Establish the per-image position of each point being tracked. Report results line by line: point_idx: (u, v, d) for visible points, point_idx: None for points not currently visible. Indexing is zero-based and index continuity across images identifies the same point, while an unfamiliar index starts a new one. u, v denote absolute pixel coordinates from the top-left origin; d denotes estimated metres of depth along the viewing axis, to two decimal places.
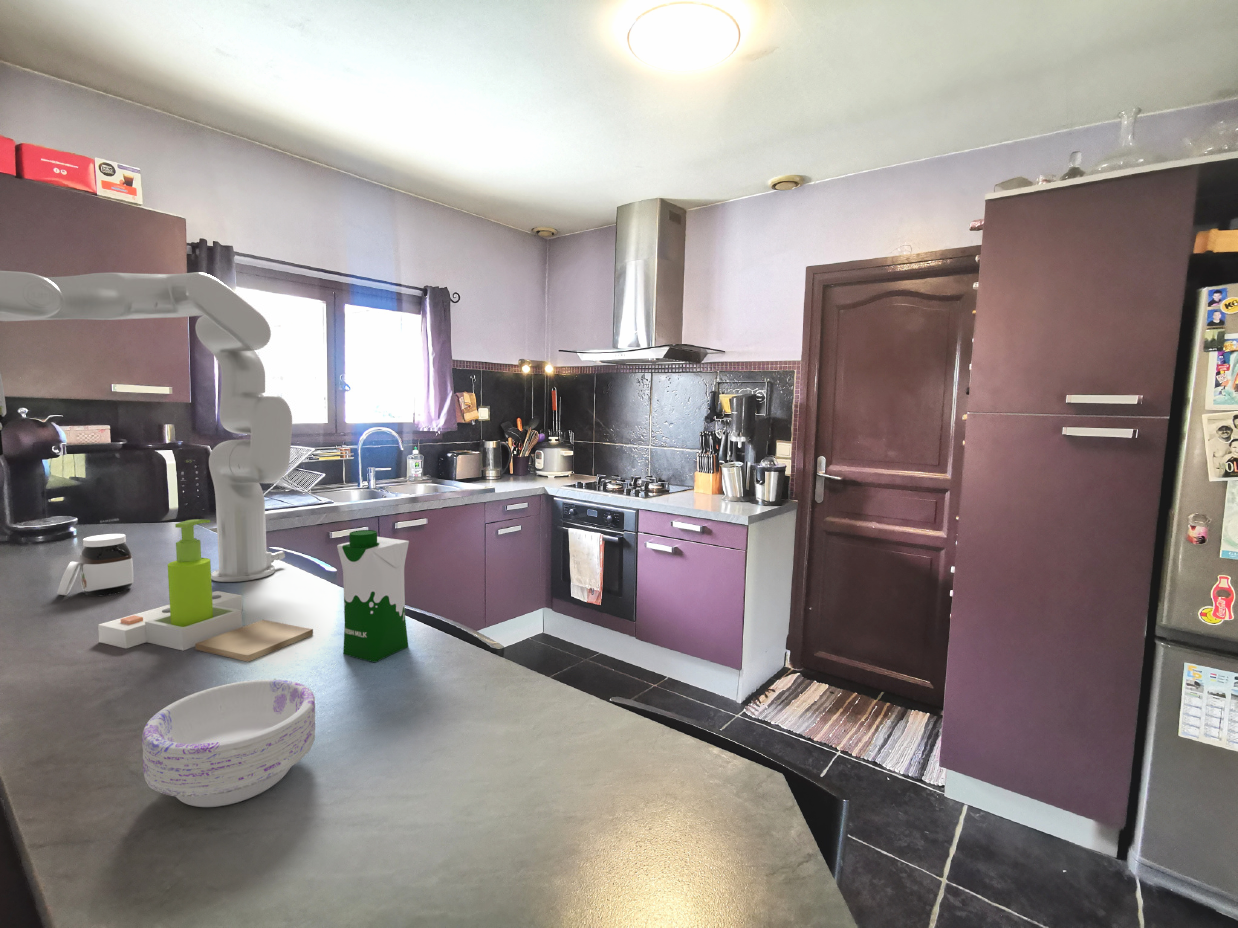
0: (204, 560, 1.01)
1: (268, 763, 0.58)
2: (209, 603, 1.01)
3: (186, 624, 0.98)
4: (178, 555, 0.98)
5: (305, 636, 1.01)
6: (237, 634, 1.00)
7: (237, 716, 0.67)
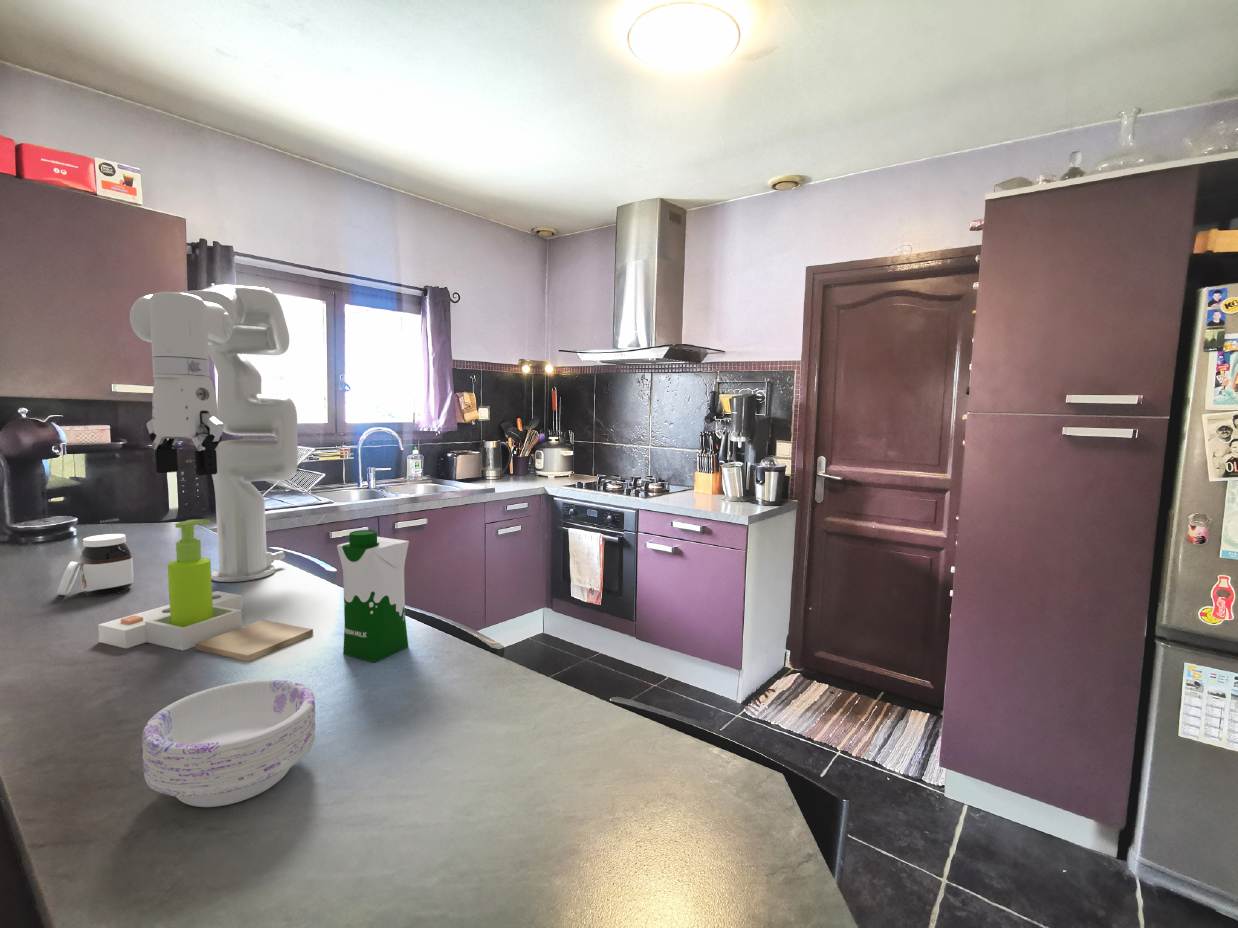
0: (204, 560, 1.01)
1: (268, 763, 0.58)
2: (209, 603, 1.01)
3: (186, 624, 0.98)
4: (178, 555, 0.98)
5: (305, 636, 1.01)
6: (237, 634, 1.00)
7: (237, 716, 0.67)
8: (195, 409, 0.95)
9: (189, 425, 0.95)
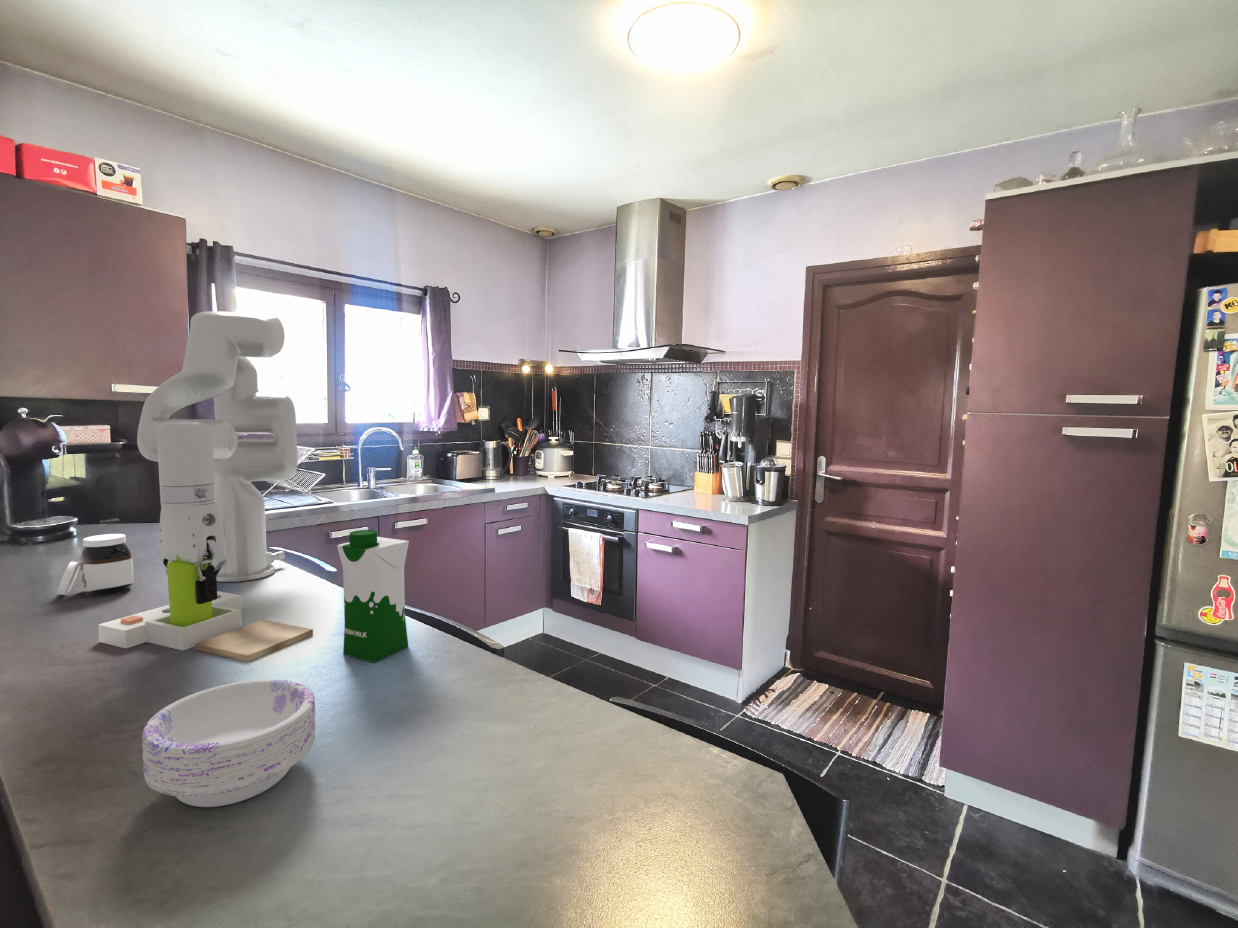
0: (203, 560, 1.01)
1: (268, 763, 0.58)
2: (208, 603, 1.01)
3: (186, 624, 0.98)
4: (177, 555, 0.98)
5: (305, 636, 1.01)
6: (237, 634, 1.00)
7: (237, 716, 0.67)
8: (202, 536, 0.97)
9: (196, 552, 0.97)
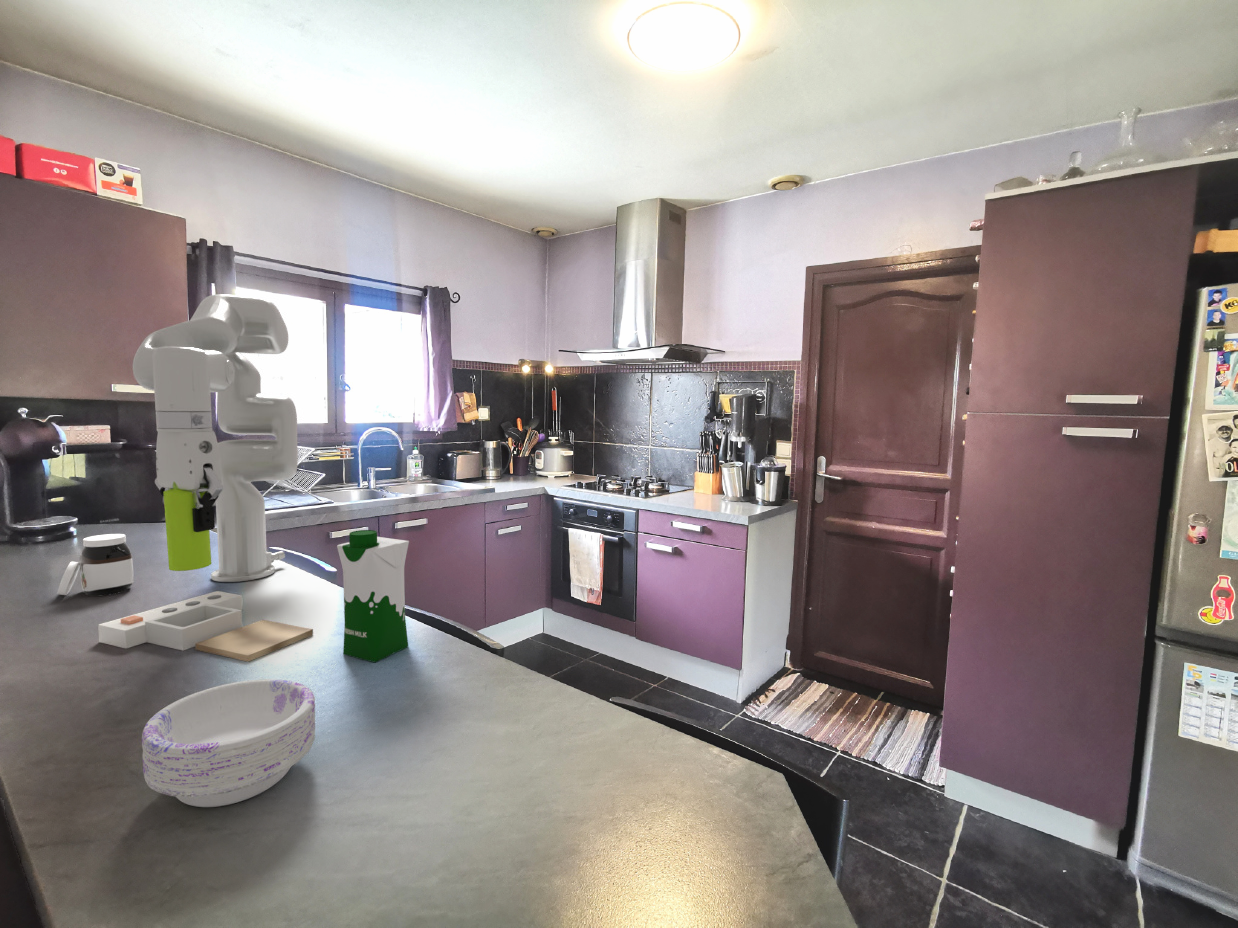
0: None
1: (268, 763, 0.58)
2: (206, 532, 1.00)
3: (183, 552, 0.98)
4: (174, 482, 0.98)
5: (305, 636, 1.01)
6: (237, 634, 1.00)
7: (237, 716, 0.67)
8: (199, 463, 0.96)
9: (193, 479, 0.96)
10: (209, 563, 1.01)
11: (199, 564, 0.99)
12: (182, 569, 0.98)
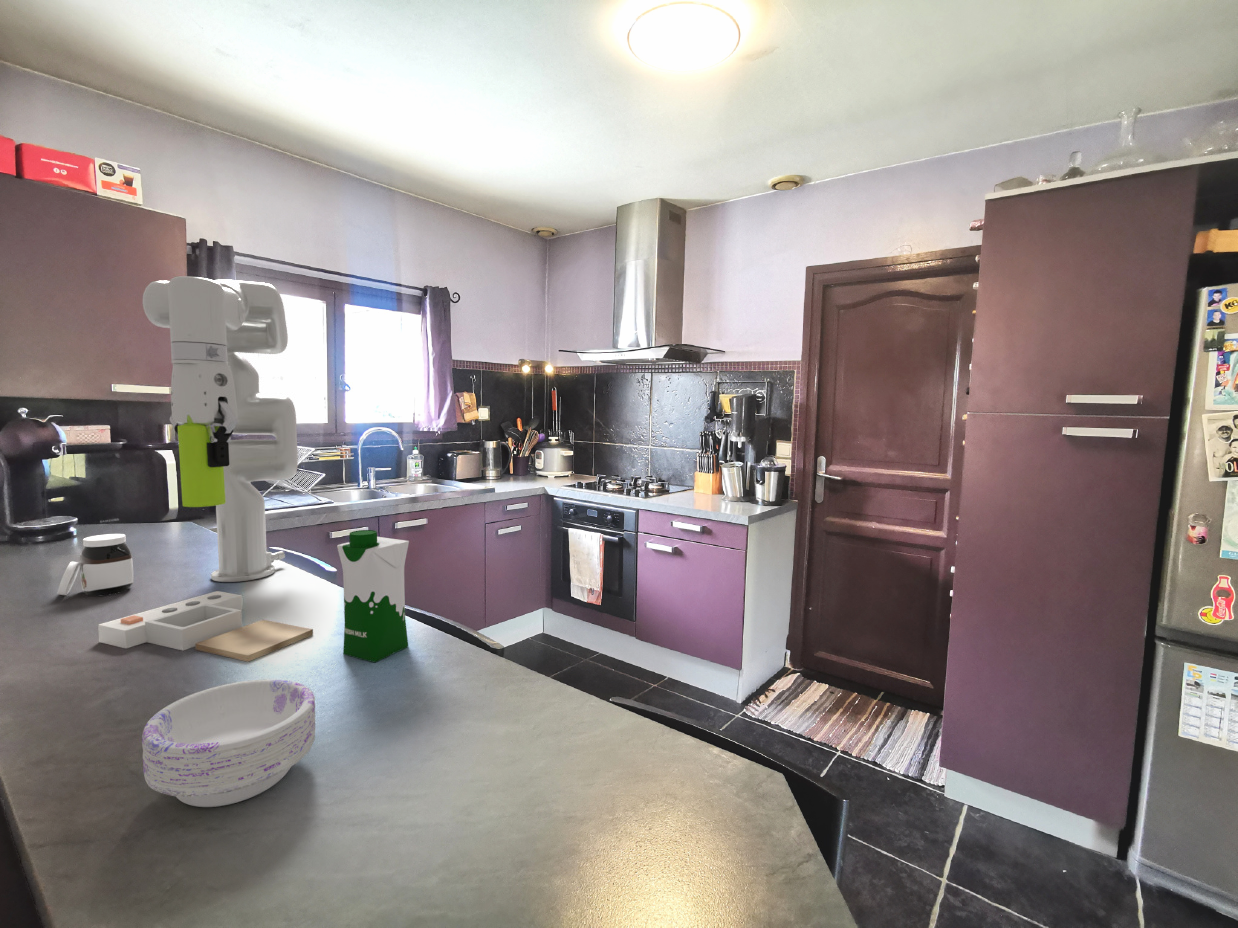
0: None
1: (268, 763, 0.58)
2: (220, 469, 0.98)
3: (196, 487, 0.95)
4: (188, 416, 0.96)
5: (305, 636, 1.01)
6: (237, 634, 1.00)
7: (237, 716, 0.67)
8: (213, 395, 0.94)
9: (207, 411, 0.94)
10: (223, 501, 0.99)
11: (213, 501, 0.97)
12: (196, 505, 0.96)
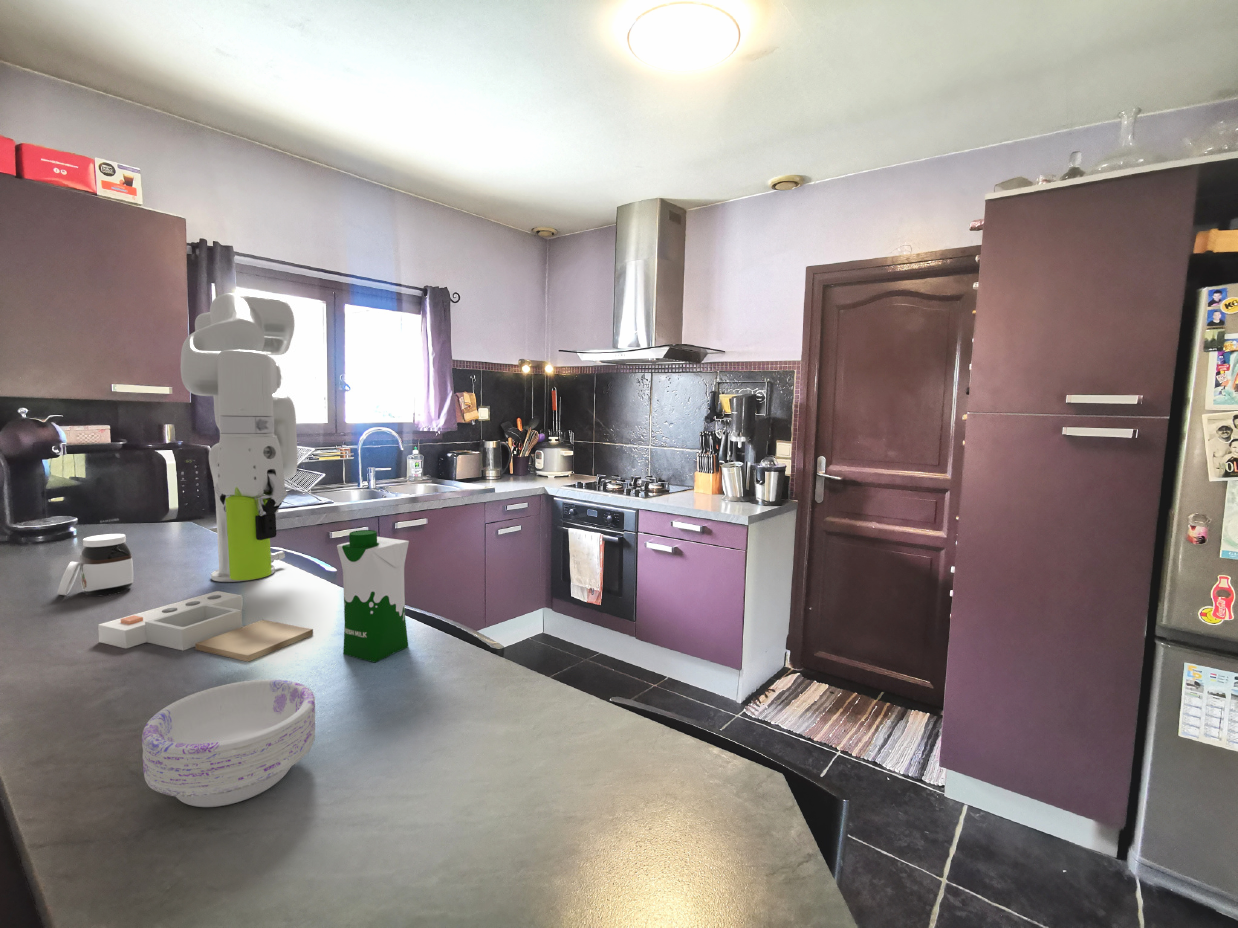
0: None
1: (268, 763, 0.58)
2: (267, 540, 0.98)
3: (245, 561, 0.95)
4: (236, 489, 0.95)
5: (305, 636, 1.01)
6: (237, 634, 1.00)
7: (237, 716, 0.67)
8: (263, 468, 0.94)
9: (257, 485, 0.94)
10: (270, 572, 0.98)
11: (261, 573, 0.96)
12: (244, 578, 0.95)
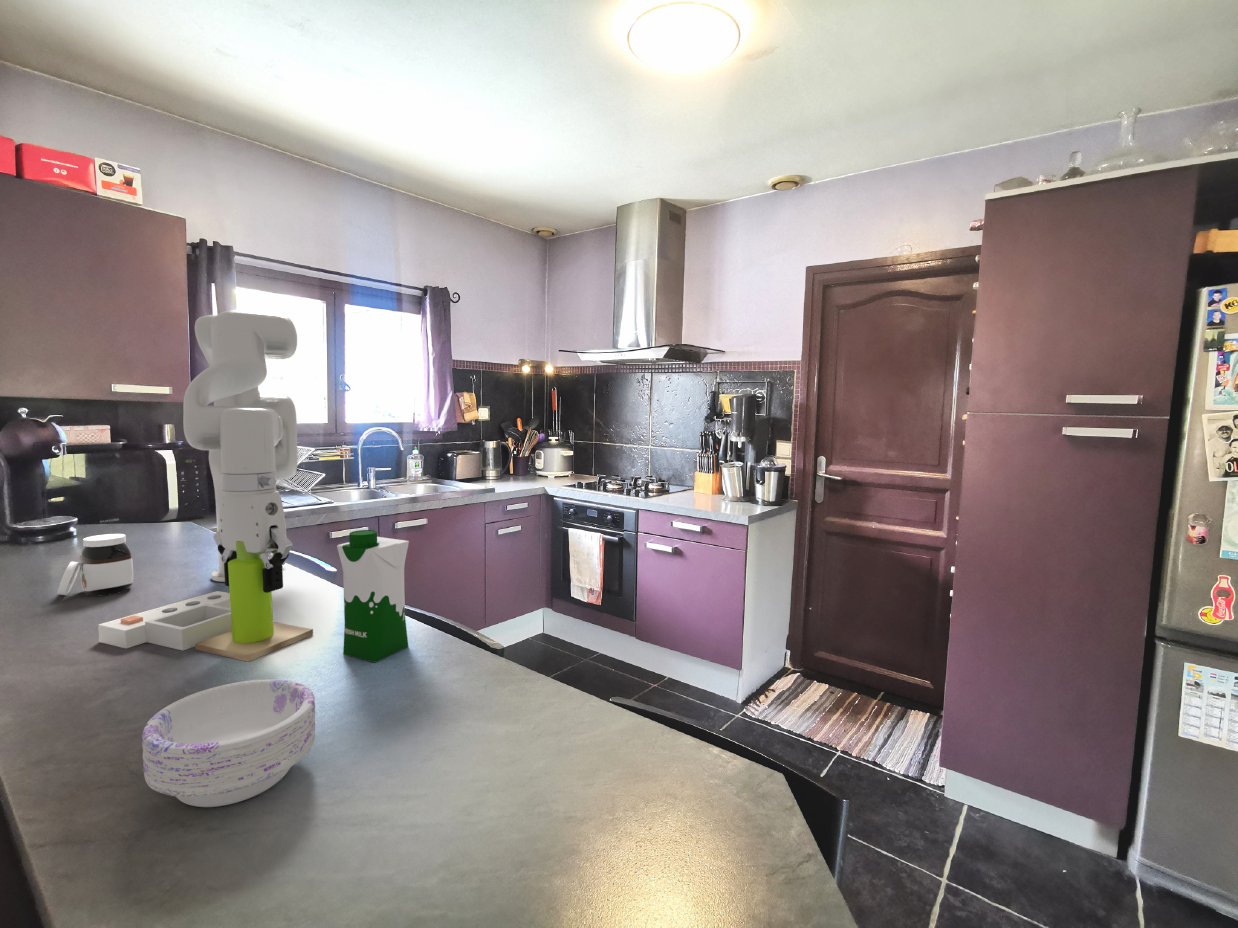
0: None
1: (268, 763, 0.58)
2: (269, 602, 0.99)
3: (248, 624, 0.96)
4: (239, 554, 0.96)
5: (305, 636, 1.01)
6: None
7: (237, 716, 0.67)
8: (265, 525, 0.95)
9: (259, 542, 0.94)
10: (272, 633, 1.00)
11: (263, 635, 0.98)
12: (247, 641, 0.96)
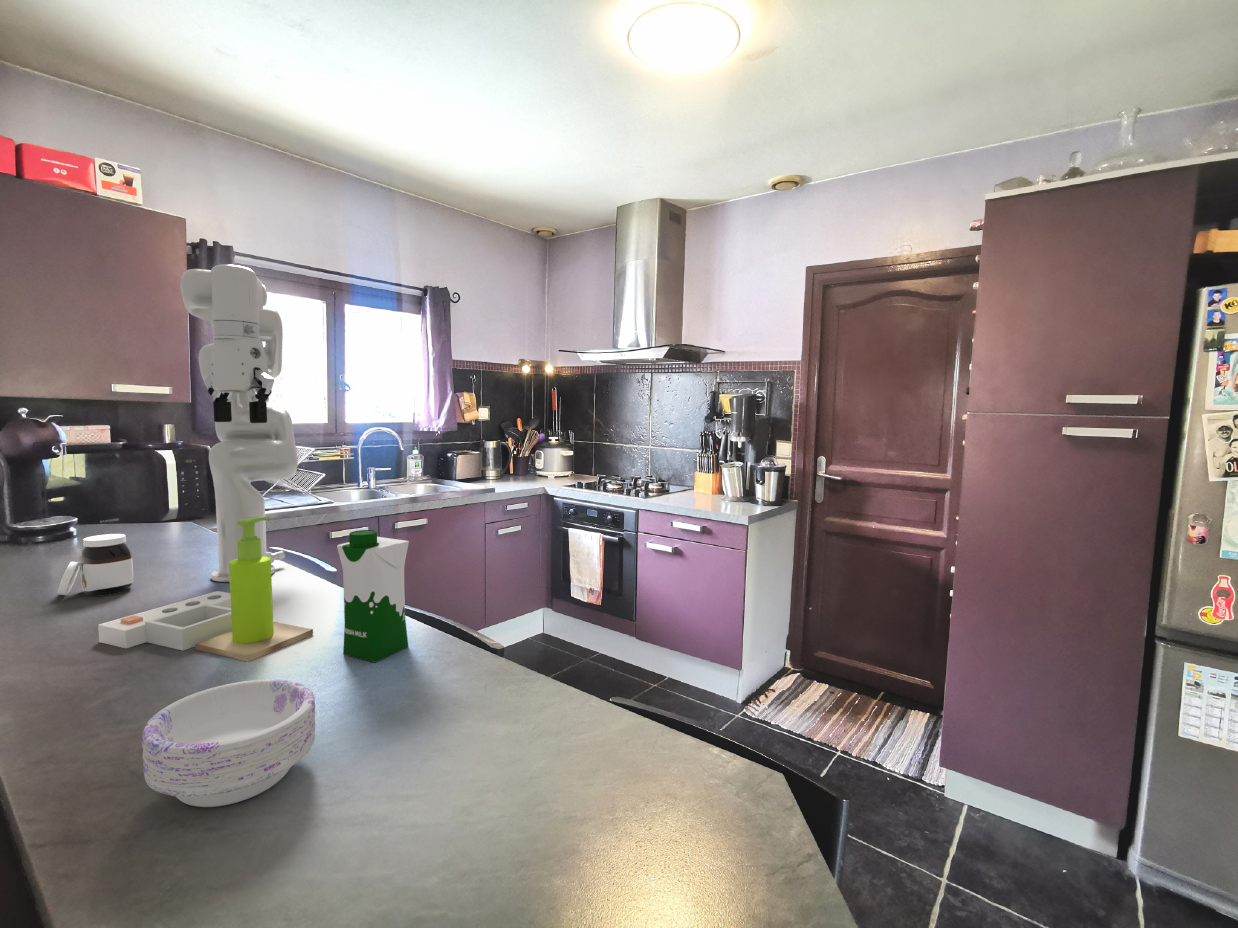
0: (265, 558, 0.98)
1: (268, 763, 0.58)
2: (270, 602, 0.99)
3: (248, 624, 0.96)
4: (240, 553, 0.96)
5: (305, 636, 1.01)
6: None
7: (237, 716, 0.67)
8: (249, 366, 1.11)
9: (245, 379, 1.11)
10: (272, 633, 1.00)
11: (263, 635, 0.98)
12: (247, 641, 0.96)
